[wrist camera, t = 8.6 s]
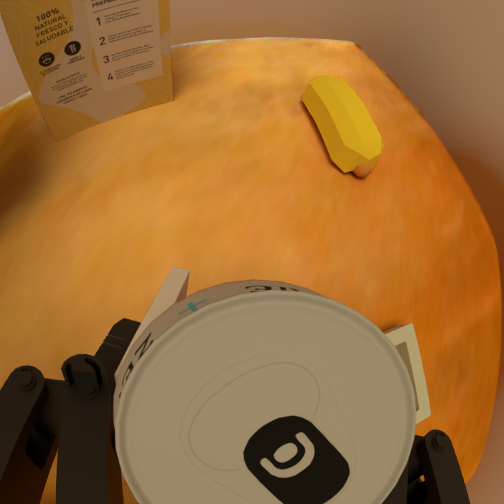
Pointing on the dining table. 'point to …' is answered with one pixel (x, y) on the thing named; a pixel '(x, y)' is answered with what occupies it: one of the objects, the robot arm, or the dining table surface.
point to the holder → (411, 365)
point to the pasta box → (91, 57)
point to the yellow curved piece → (344, 124)
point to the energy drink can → (263, 402)
